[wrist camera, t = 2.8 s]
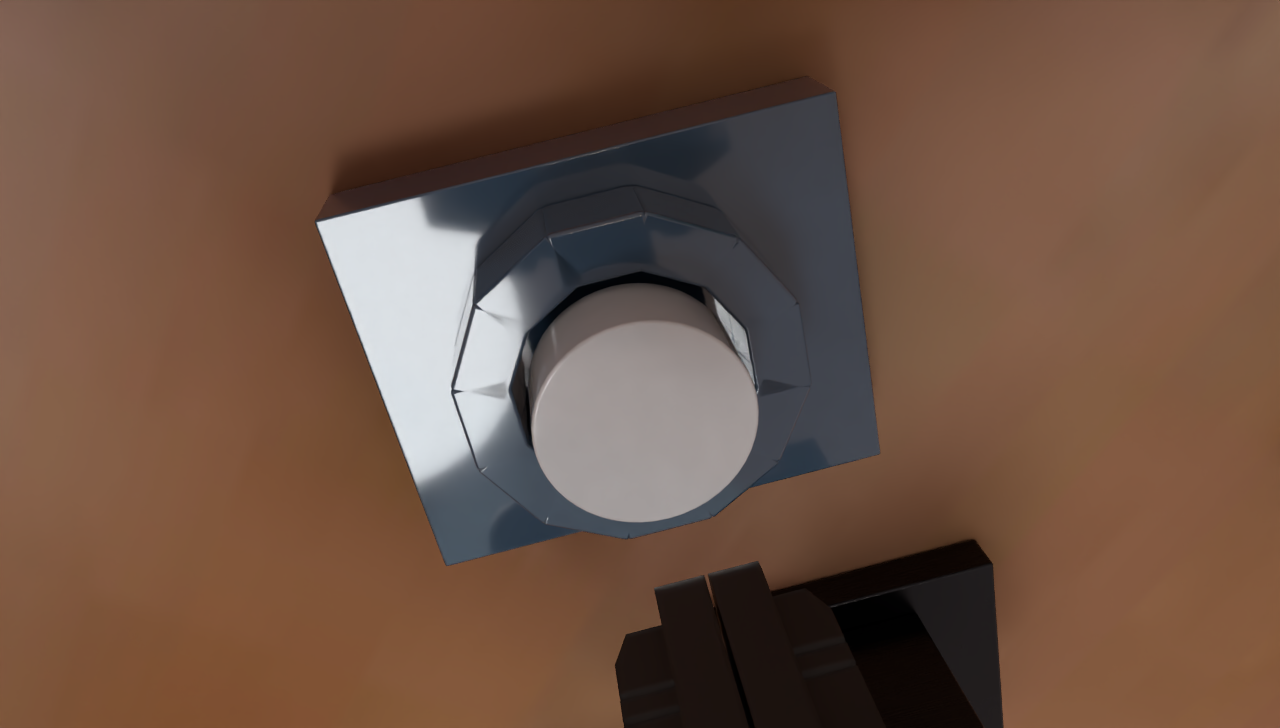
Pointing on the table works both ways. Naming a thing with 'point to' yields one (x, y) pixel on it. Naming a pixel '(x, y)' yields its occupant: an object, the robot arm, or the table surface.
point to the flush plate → (596, 259)
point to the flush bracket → (923, 636)
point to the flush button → (640, 403)
